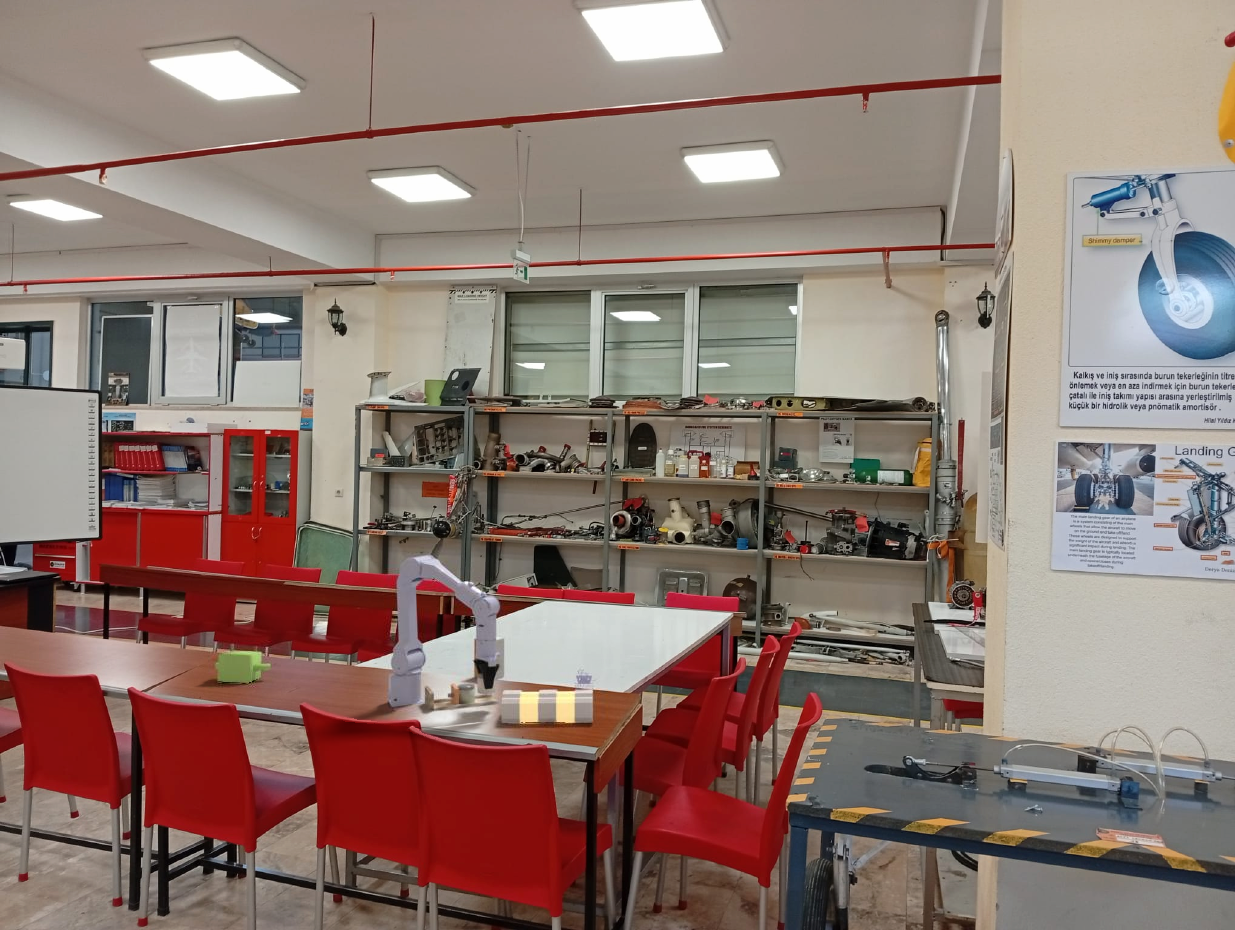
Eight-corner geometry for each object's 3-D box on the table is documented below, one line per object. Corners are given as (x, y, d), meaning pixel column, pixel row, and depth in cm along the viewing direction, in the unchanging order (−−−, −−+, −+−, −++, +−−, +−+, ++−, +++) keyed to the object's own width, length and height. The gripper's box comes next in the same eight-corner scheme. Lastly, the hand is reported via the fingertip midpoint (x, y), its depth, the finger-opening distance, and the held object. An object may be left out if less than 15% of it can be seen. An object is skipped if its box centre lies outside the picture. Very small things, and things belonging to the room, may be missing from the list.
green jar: (459, 705, 255) (459, 688, 256) (455, 701, 260) (455, 684, 260) (476, 704, 257) (476, 687, 257) (472, 699, 262) (472, 683, 262)
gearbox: (276, 679, 294) (277, 650, 294) (261, 684, 284) (262, 655, 284) (225, 676, 296) (226, 648, 296) (209, 682, 286) (210, 653, 286)
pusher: (450, 707, 254) (450, 689, 254) (446, 701, 260) (445, 684, 260) (459, 706, 255) (458, 688, 255) (454, 700, 261) (454, 683, 261)
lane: (430, 713, 250) (430, 693, 250) (424, 704, 259) (424, 685, 259) (499, 705, 257) (499, 686, 257) (490, 697, 267) (490, 679, 267)
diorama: (593, 714, 250) (593, 668, 250) (593, 724, 239) (592, 676, 239) (505, 715, 249) (505, 669, 249) (501, 725, 239) (501, 677, 239)
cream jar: (479, 694, 248) (479, 677, 248) (475, 690, 252) (475, 673, 252) (497, 692, 250) (497, 675, 250) (492, 688, 254) (492, 671, 254)
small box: (473, 677, 292) (473, 638, 292) (485, 673, 298) (485, 635, 298) (493, 680, 288) (493, 640, 288) (504, 676, 294) (504, 637, 294)
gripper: (506, 642, 246) (506, 691, 246) (493, 633, 259) (493, 679, 259) (481, 644, 243) (481, 693, 243) (470, 635, 257) (470, 681, 257)
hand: (486, 686), depth 251 cm, fingers closed on cream jar, 5 cm apart
